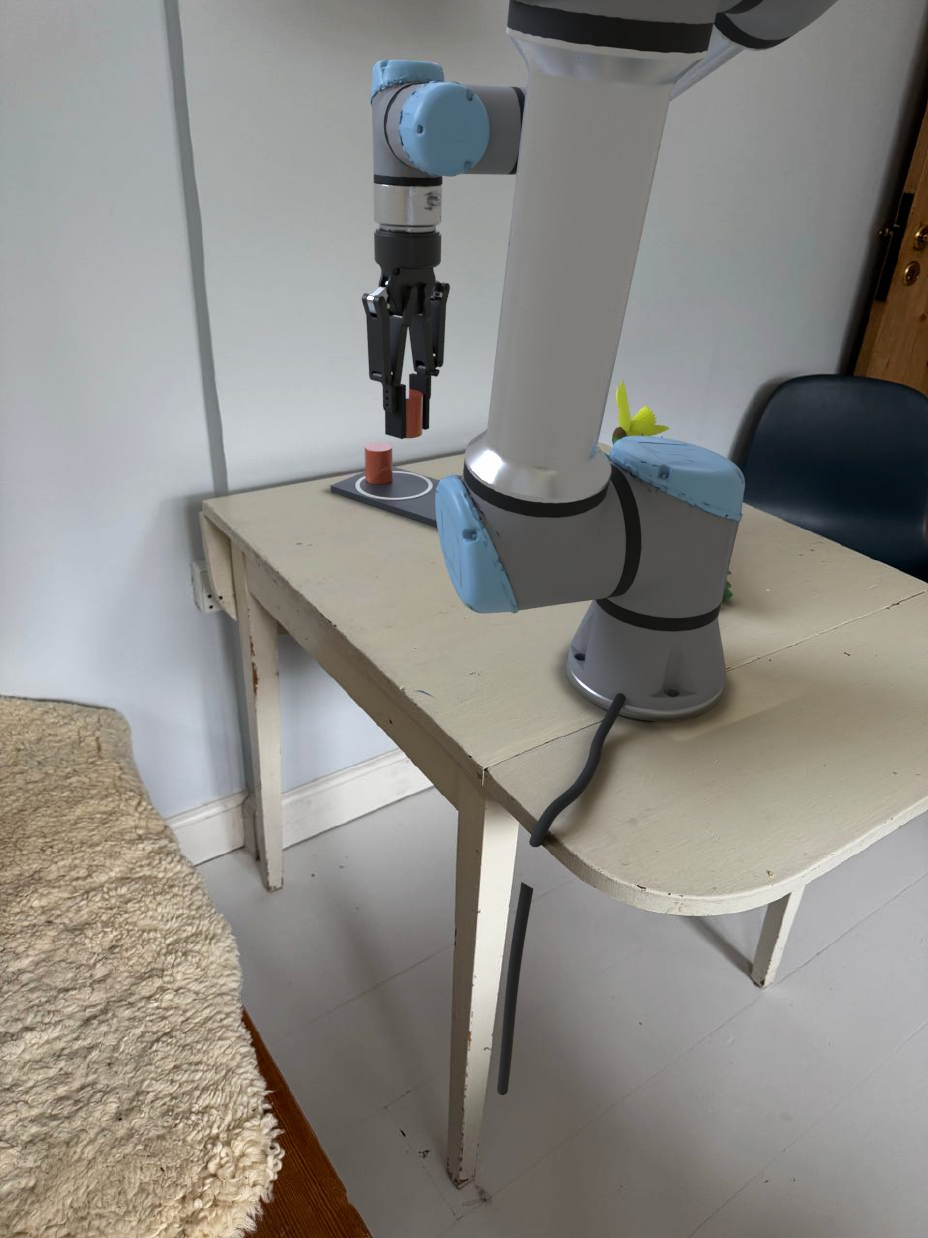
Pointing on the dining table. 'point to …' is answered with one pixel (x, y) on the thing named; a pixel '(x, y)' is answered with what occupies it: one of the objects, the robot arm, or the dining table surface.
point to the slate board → (395, 494)
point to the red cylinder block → (414, 413)
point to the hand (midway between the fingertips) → (407, 430)
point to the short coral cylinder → (378, 463)
